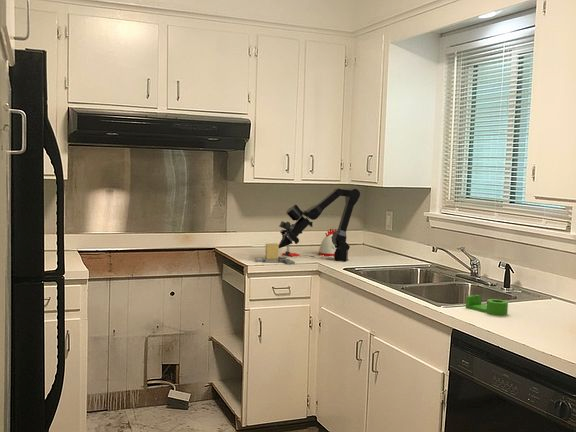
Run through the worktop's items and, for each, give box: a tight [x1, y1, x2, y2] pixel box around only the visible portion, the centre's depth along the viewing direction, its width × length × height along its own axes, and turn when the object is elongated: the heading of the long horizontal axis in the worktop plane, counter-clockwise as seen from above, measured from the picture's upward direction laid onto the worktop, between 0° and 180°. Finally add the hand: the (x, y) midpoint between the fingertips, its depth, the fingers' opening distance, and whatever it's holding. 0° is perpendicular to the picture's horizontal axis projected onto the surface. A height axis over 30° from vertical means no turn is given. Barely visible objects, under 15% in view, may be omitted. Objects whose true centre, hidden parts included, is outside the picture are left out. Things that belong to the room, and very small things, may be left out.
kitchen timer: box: [318, 228, 337, 257], centre depth 360 cm, size 14×14×15 cm
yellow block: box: [264, 243, 280, 261], centre depth 330 cm, size 6×4×9 cm, turn 105°
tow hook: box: [281, 244, 300, 258], centre depth 354 cm, size 8×13×9 cm
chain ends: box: [254, 256, 296, 265], centre depth 327 cm, size 18×15×2 cm
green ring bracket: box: [465, 294, 509, 317], centre depth 230 cm, size 15×7×5 cm, turn 33°
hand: (278, 247), depth 330 cm, fingers closed
